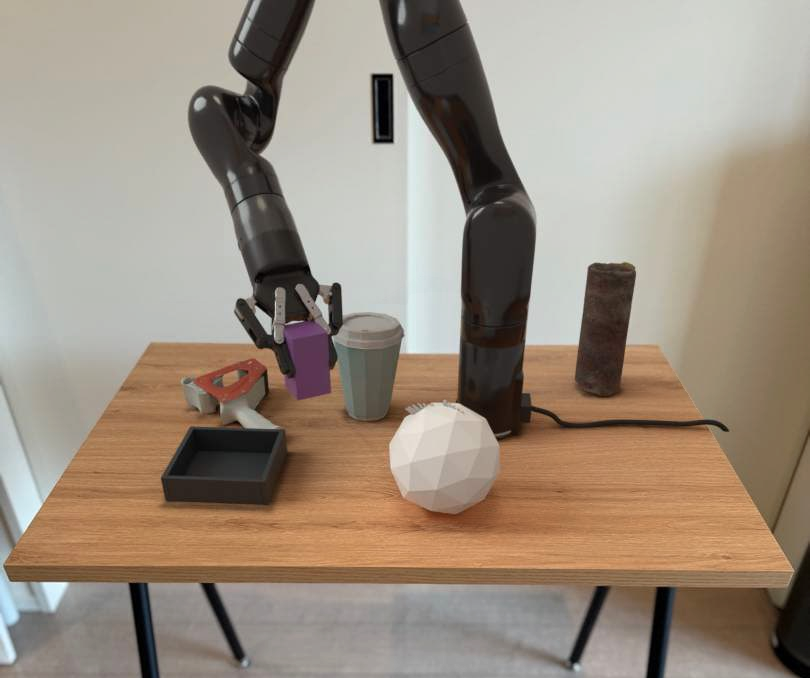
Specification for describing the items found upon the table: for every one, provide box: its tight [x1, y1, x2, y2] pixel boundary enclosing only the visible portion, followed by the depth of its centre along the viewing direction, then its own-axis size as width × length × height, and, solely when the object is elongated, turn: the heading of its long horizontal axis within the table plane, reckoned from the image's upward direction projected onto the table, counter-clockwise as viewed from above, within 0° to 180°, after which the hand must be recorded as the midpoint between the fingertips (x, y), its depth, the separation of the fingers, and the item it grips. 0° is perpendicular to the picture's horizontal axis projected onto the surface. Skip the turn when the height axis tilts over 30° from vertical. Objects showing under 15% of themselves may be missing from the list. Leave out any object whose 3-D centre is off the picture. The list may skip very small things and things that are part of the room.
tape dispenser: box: [180, 357, 284, 429], centre depth 121 cm, size 18×5×20 cm
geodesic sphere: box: [388, 399, 501, 515], centre depth 100 cm, size 15×14×14 cm
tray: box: [160, 425, 288, 506], centre depth 107 cm, size 13×13×4 cm
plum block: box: [283, 320, 332, 401], centre depth 98 cm, size 4×4×8 cm
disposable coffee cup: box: [332, 311, 405, 422], centre depth 119 cm, size 11×11×15 cm
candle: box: [574, 261, 637, 397], centre depth 125 cm, size 8×7×20 cm
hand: (312, 371), depth 97 cm, fingers closed on plum block, 4 cm apart
